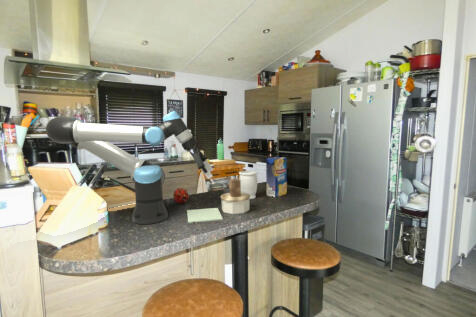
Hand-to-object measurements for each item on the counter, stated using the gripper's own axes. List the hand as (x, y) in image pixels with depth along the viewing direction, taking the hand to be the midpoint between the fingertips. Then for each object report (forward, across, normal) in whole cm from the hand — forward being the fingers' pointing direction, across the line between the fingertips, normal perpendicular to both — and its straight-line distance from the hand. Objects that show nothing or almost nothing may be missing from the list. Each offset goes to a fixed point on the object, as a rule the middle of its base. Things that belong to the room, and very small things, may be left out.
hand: (211, 174), depth 139 cm
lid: (+15, -9, -5) cm, 18 cm away
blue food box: (+36, +18, -22) cm, 46 cm away
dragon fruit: (+6, +7, +24) cm, 25 cm away
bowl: (+20, -9, -2) cm, 22 cm away
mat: (+11, -17, +11) cm, 23 cm away
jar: (+26, +13, -8) cm, 30 cm away
